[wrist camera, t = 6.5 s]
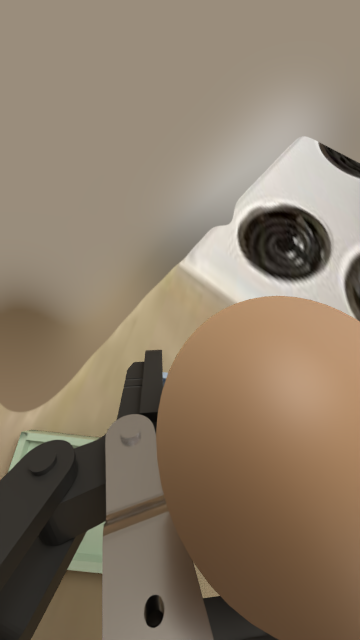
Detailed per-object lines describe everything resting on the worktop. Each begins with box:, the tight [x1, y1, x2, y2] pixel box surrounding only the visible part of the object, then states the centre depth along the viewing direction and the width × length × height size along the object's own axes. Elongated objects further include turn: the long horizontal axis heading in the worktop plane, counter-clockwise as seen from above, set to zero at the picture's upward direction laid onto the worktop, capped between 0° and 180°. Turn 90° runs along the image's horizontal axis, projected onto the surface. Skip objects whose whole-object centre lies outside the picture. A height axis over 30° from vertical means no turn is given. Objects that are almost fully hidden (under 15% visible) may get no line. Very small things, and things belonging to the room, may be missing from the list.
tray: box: [8, 430, 106, 573], centre depth 26 cm, size 16×12×2 cm
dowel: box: [156, 296, 360, 640], centre depth 10 cm, size 4×4×15 cm
